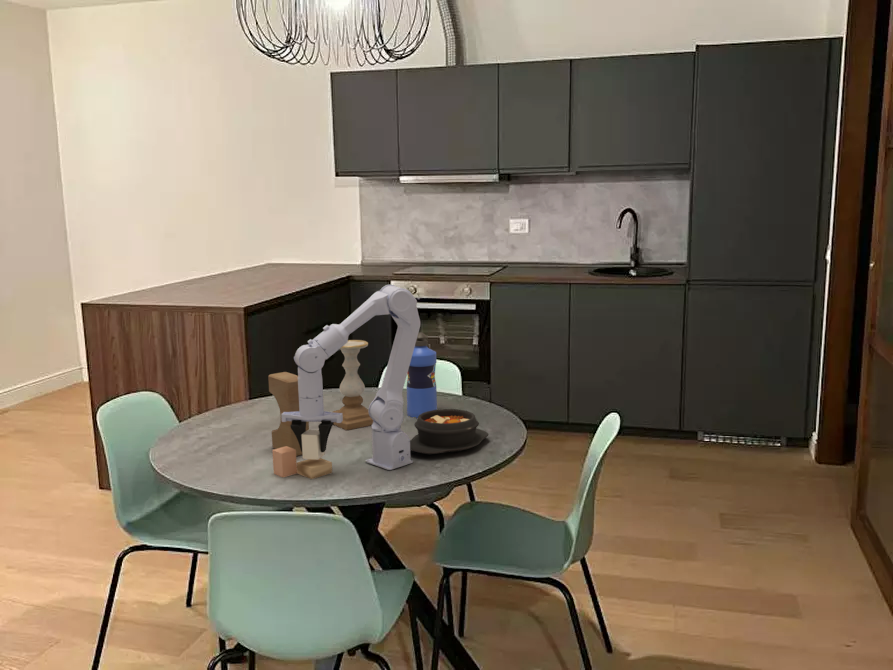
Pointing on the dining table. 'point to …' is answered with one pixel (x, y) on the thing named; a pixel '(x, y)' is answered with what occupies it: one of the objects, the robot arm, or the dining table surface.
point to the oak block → (314, 468)
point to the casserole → (446, 432)
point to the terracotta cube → (284, 461)
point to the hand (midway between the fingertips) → (313, 450)
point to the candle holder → (353, 389)
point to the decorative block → (285, 408)
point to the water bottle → (421, 379)
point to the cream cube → (311, 445)
